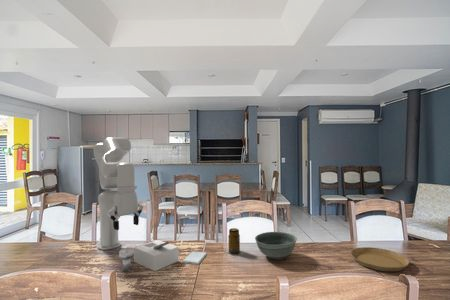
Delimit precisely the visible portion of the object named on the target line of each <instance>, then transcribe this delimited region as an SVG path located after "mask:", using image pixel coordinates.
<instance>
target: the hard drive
mask: <svg viewBox="0 0 450 300" xmlns="http://www.w3.org/2000/svg"><path fill="white" fill-rule="evenodd" d="M207 255H208V254H207V252H203V251H191V252H190V253H189V254H188V255H187V256H186V257H185V258H184V259H182V264H187V265H188V264H189V265H199V264H200V263H201V262H202V261H203V259H205V257H206V256H207Z"/></svg>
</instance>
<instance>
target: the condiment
mask: <svg viewBox="0 0 450 300" xmlns="http://www.w3.org/2000/svg"><path fill="white" fill-rule="evenodd" d="M240 236H241V235H240V230H239V228H235V227H232V228H229V229H228V238H227V239H228V250H225V253H227V254H230V255H233V256H235V257H236V256H240V255H243V254H246V252H245V251H243V250H241V249H240V246H241V245H240V244H241V242H240V241H241V239H240V238H241V237H240Z"/></svg>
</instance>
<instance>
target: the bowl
mask: <svg viewBox="0 0 450 300" xmlns="http://www.w3.org/2000/svg"><path fill="white" fill-rule="evenodd" d="M254 240H255V243H256V245H257V248H258V249H259V251H260V252H261V253H262V254H263V255H264V256H266V257H267V259H269V260H272V261H273V260H274V261H281V260H284V259H286V257H288V256H289V255H290V254H292V252H294V248H295V247H296V243H297V237H296V235H293V234H291V233H287V232H282V231H267V232H262V233H259V234H257V235H256V236H255V237H254Z"/></svg>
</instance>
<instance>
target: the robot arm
mask: <svg viewBox="0 0 450 300" xmlns="http://www.w3.org/2000/svg"><path fill="white" fill-rule="evenodd" d="M131 148H132V144H131V141H130V140H129V138H128V137H116V136H115V137H106V138H105V139H104V140H103V141H102V142H99V143H96V144H94V146H93V155H94V159H95V161H96V163H97V166H98V177H99V185H100V188H101V189H102V190H107V191H102V192H101V193H100V194H98V197H97V199H98V200H97V202H98V206H99V207H98V208H99V222H100V223H99V226H100V227H99V232H100V233H99V237H100V238H99V242H100V243H99V244H97V246H96V247H97V249H98V250H101V251H103V250H104V251H108V250H114V249H117V248H119V247H120V246H122V242H121V241H120V240H119V230H120V221H119V219H120V217H123V216H128V215H133V216H132V217H133V220H132V221H133V225H136V226H139V221H140V215H141V213H142V212H143V209H144V205H142V204H140V203H138V196H137V192H136V190H137V189H138V188H137V186H136V185H135V165H134V163H132V162H129V161H127V162H126V161H125V162H123V161H122V160H123V159H124V157H125V156H126V155H127V154H129V153H130V151H131ZM115 189H116V190H115Z"/></svg>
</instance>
